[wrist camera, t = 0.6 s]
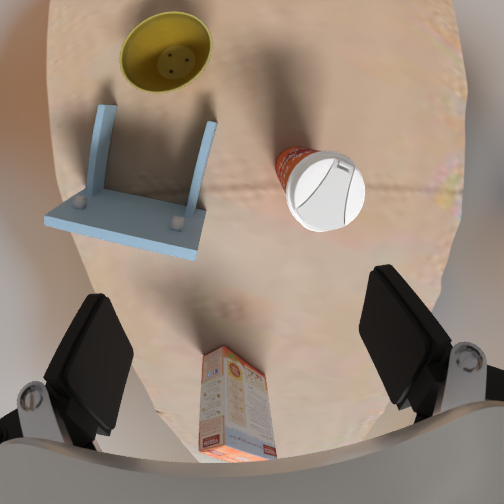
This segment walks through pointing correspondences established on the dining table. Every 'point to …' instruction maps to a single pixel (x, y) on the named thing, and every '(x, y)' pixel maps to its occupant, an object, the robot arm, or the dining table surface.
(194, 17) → the flower pot
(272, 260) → the dining table surface
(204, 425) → the cracker box
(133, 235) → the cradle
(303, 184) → the paper cup
